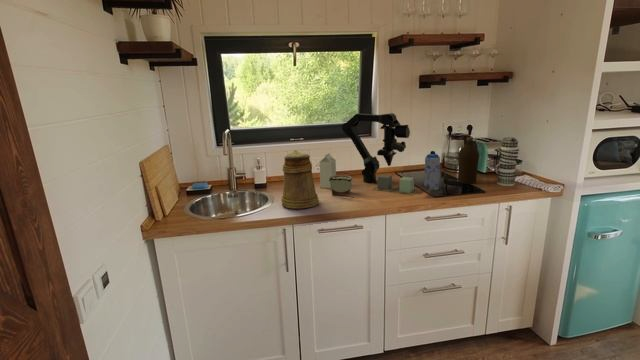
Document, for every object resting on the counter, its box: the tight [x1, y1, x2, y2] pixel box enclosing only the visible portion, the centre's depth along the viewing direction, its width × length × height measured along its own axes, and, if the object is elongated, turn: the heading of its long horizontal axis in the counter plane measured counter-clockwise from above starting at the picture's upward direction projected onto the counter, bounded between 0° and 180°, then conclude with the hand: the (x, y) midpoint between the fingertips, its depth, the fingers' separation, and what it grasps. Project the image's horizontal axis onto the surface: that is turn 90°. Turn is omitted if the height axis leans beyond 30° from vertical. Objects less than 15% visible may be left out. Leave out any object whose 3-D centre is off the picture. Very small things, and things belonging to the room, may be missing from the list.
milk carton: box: [318, 152, 337, 189], centre depth 196 cm, size 7×7×19 cm
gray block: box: [377, 174, 393, 190], centre depth 185 cm, size 6×6×7 cm
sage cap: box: [398, 176, 415, 193], centre depth 178 cm, size 6×6×7 cm
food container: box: [329, 174, 353, 198], centre depth 181 cm, size 12×6×10 cm, turn 71°
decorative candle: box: [496, 136, 520, 187], centre depth 185 cm, size 9×9×25 cm
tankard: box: [281, 149, 320, 210], centre depth 170 cm, size 18×24×25 cm
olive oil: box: [457, 136, 480, 185], centre depth 193 cm, size 11×11×25 cm
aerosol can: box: [423, 150, 441, 191], centre depth 185 cm, size 8×8×20 cm
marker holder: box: [371, 185, 421, 196], centre depth 182 cm, size 22×12×7 cm, turn 56°
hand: (389, 165), depth 190 cm, fingers closed
